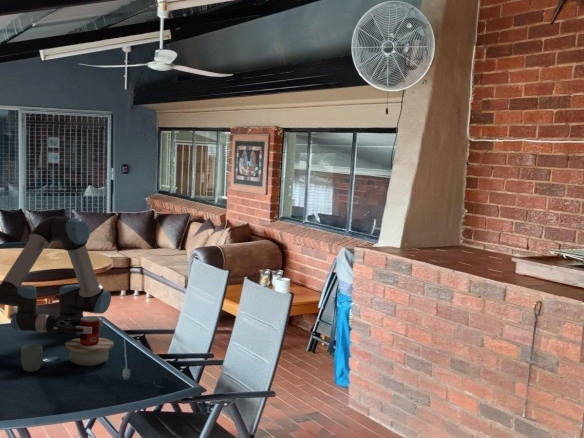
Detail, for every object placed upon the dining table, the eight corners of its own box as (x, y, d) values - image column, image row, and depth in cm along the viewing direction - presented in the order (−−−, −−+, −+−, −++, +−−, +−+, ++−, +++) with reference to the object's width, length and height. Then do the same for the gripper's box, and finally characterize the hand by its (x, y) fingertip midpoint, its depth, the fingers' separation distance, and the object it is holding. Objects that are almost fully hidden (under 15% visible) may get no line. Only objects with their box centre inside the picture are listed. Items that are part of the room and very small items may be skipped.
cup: (34, 374, 265) (35, 349, 265) (17, 372, 267) (17, 347, 266) (45, 368, 273) (46, 345, 272) (28, 366, 274) (29, 343, 274)
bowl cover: (75, 338, 295) (75, 336, 295) (119, 341, 294) (119, 339, 294) (57, 350, 275) (57, 348, 275) (104, 354, 274) (104, 351, 274)
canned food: (101, 341, 288) (102, 316, 287) (94, 346, 280) (95, 321, 279) (84, 340, 289) (85, 315, 288) (76, 345, 281) (77, 319, 280)
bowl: (77, 355, 293) (78, 340, 293) (113, 358, 292) (113, 342, 292) (63, 366, 277) (63, 350, 277) (100, 368, 276) (101, 352, 276)
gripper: (60, 325, 297) (106, 328, 296) (35, 339, 272) (86, 342, 271) (60, 308, 297) (107, 311, 296) (36, 321, 272) (86, 324, 271)
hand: (97, 326), depth 284 cm, fingers open, 13 cm apart
